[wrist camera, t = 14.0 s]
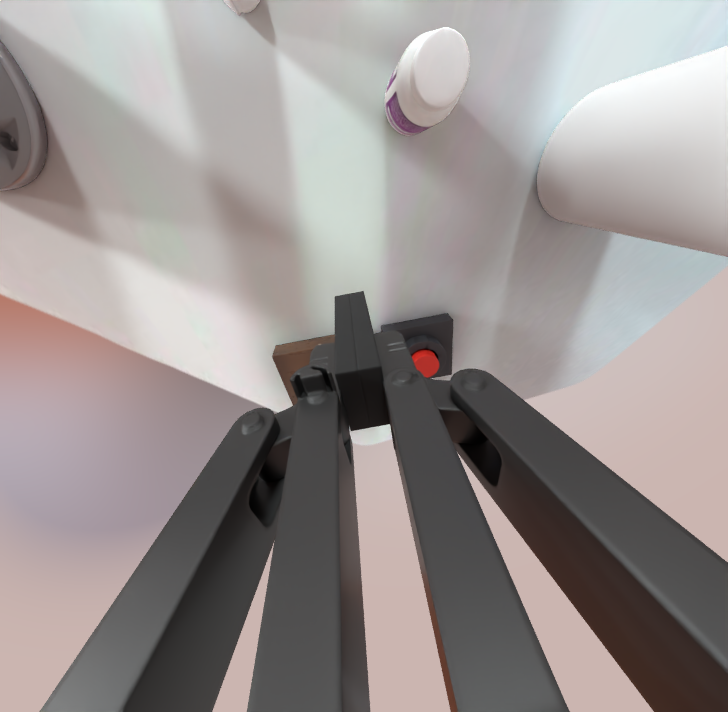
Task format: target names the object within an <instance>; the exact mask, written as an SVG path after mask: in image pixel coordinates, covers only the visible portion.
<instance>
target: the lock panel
mask: <svg viewBox="0 0 728 712" xmlns="http://www.w3.org/2000/svg"><path fill="white" fill-rule="evenodd" d="M332 342H335V335H330V336H325V337H319V338H314V339H309V340H303V341H298V342H292V343H287V344H282V345H276V347H275V350H274V353H273V355H272V357H273V360H274V362H275V364H276V367H277V369H278V371H279V374H280V376H281V378H282V381H283V383H284V385H285V388H286V390H287V392H288V394H289V397H290V399H291V401H292V404H293V406H294V405H295V404H296V403H297V400H298V399H297V397H296V394H295V392H294V390H293V387H292V385H291V382H290V378H291V376H292V375H293V374H294V373H295V372H296V371H297V370H298V369H300V368H302V367H304V366H306V365H309V362H310V353H311V352H312V350H313V349H314V348H315V346H316V345H321V344H327V343H332Z"/></svg>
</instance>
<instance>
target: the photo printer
mask: <svg viewBox="0 0 728 712" xmlns="http://www.w3.org/2000/svg"><path fill="white" fill-rule="evenodd" d="M223 1H224V2H225V3H226V4H227V5H228V6H229V7H230V8H231V9H232V10H233V11H234V12H235V13H236V14H237V15H238V16H240V14H241V13H242V12H243V13H248V12H250V11H252V10H253V9H255V7H256V6H257V5H258V3H259V1H260V0H223Z"/></svg>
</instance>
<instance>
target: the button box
mask: <svg viewBox="0 0 728 712" xmlns="http://www.w3.org/2000/svg"><path fill="white" fill-rule="evenodd" d="M381 328H382V332H386V331H392V330H396V331H398V332H399V333H400V334H402V335H403V338H404V340H405V343H406V345H407V347H408V350H409V352H410V354H411V355H412V354H413V353H414V352H416V351H418V350H421V349H428V350H431V351H432V352H433V353H434V354H435V356H436V357H437V359H438V361H439V369H438V371H437V372H436V373H435V374H434V375H432V376H431V377H428V378H429V379H430V378H435V377H441V376H446V375H451V374H452V339H453V319H452V318H451V317H450V316H449V314H448V313H447V314H441V315H436V316H431V317H425V318H420V319H415V320H409V321H404V322H399V323H393V324H388V325H383V326H381Z"/></svg>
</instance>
